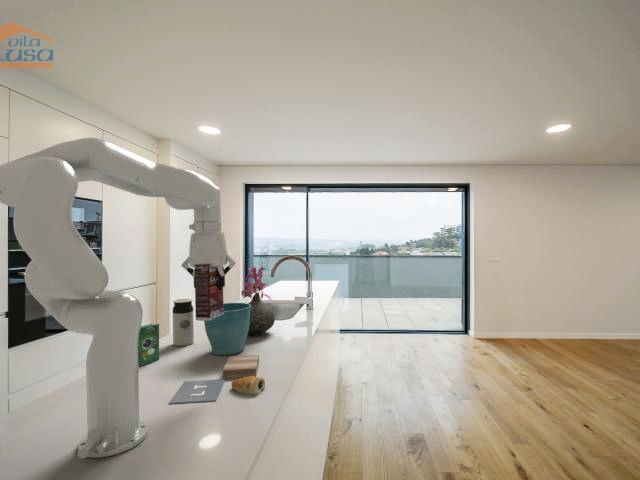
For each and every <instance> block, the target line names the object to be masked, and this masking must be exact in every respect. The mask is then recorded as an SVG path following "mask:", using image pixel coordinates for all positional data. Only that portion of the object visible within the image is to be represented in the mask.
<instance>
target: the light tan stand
mask: <svg viewBox="0 0 640 480" xmlns="http://www.w3.org/2000/svg"><path fill="white" fill-rule="evenodd" d="M228 356H229V355H228ZM259 364H260V355H259V354H250V355H230V356H229V357H228V359H227V361H226V363H225V365H224V367H223V369H222V379H232V378H233V379H237V378H238V379H239V378H244V377H250V376H254V377H257V373H258V369H259Z"/></svg>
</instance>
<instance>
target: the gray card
mask: <svg viewBox="0 0 640 480" xmlns="http://www.w3.org/2000/svg"><path fill="white" fill-rule="evenodd" d="M225 382H226V378H222V379H221V378H220V379H205V380H204V379H203V380H187V381H183V382H182V384H181V386H180V387H179V388H178V390H177V391H176V392H175V394H174V395H173V396H172V398H171V399H170V401H169V402H168V404H169V405H174V404H191V403H192V404H193V403H207V402H208V403H209V402H217V401H218V398H219V397H220V396H219V395H220V393H221V391H222V389H223V387H224V384H225Z"/></svg>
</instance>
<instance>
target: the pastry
mask: <svg viewBox="0 0 640 480" xmlns="http://www.w3.org/2000/svg"><path fill="white" fill-rule="evenodd" d="M230 384H231V388H232V389H233V391H236V392H238V393H239V394H244V395H249V396H257V395H258V394H259V393H261V392H262V390H263V389H265V387H266V381H265V379H264V378H263V377H262V376H261V377H258V376H256V377H254V376H250V377H239V378H238V379H237V378H236V379H235V380H233V381H231V382H230Z"/></svg>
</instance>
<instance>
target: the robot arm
mask: <svg viewBox="0 0 640 480" xmlns="http://www.w3.org/2000/svg"><path fill="white" fill-rule="evenodd" d="M90 181H92V182H98V183H101V184H103V185H106V186H110V187H113V188H115V189H119V190H122V191H123V192H128V193H130V194H134V195H136V196H140V197H141V196H143V197H149V198H164V200H165V202H166V204H167V205H168V206H169V207H170V208H173V209H175V210H178V211H186V210H193V223H192V224H189V225H188V230H193V232H194V233H191V235H190V239H189V250H188V251H189V252H188V257H187V258H186V259H185V260H184V261H183V262H182V263H181V267H182V268H183V269H184V270H185V271H187V273H189V275H191V276H192V278H193V288H194V289H195V265H196V264H212V266H213V267H217V268H218V271H219V273H220V276H219V290H222V289H223V290H224V288H225V287H226V275H227V274H228V273H229V272H230V271H231V269H232V268H234V267H235V266H236V264H237V262H236V261H235V260H234V259H233V258H232V257H231V256H230V255H229V254H228V253H227V251H228V250H227V242H226V236H225V233H224V232H222V213H221V212H222V209H221V208H222V207H221V205H222V204H221V189H220V187H218V186H217V185H215V184H214V183H213V182H212V181H211V180H210V179H209V178H207V177H205V176H203V175H201V174H199V173H196V172H194V171H191V170H188V169H185V168H181V167H176V166H172V165H168V164H164V163H160V162H154V161H152V160H148V159H146V158H144V157H142V156H140V155H137V154H135V153H133V152H130V151H129V150H126V149H124V148H122V147H121V146H118V145H117V144H116V145H115V144H113V143H111V142H108V141H106V140H104V139H101V138H97V137H84V138H83V137H82V138H77V139H72V140H69V141H64V142H61V143H58V144H55V145H52V146H49V147H46V148H44V149H41V150H39V151H36V152H33V153H31V154H27V155H24V156H21V157H19V158H16V159H14V160H11V161H7V162H5V163H3V164H1V165H0V203H1V204H3V205H5V206H7V207H10V208H14V210H13V221H12V222H13V223H12V224H13V232H14V235H15V238H16V240H17V242H18V244H19V245H20V247H21V248H22V249H23V251H24V252H25V254H26V255H27V256H28V257H29V258H30V262H29V263H28V264H27V266H26V268H25V271H24V283H25V286H26V288H27V290H28V292H29V293H30V294H31V295H32V296H33V298H34V299H35V300H36V301H37V302H38V303H39V304H40V305H41V306H42V307H43V308H44V309H45V310H46V311H47V312H48V313H49V314H50V315H51V316H52V317H53V318H54V319H55V320H56V321H57V323H59V324H60V325H61V326H62V327H64V328H65V329H66V330H68V331H70V332H73V333H76V334H81V335H88V336H89V335H90V336H92V339H91V342H90V346H89V349H88V351H87V355H86V359H85V373H86V374H85V375H86V427H87V428H86V430H87V432H86V434H85V435H84V436H83V437H82V438H81V439H80V441H79V442H78V446H77V448H78V451H77V457H78V458H79V459H82V460H83V459H86V458H91V459H93V458H95V459H97V458H106V457H111V456H115V455H118V454H121V453H123V452H124V453H125V452H127V451H128V450H130V449H133V448H134V447H136V446H137V445H139V444H140V443H142V441H143V440H144V439H145V438H146V437H147V435H148V425H147V423H145V422H143V421H141V420H140V389H139V388H140V382H139V381H140V379H139V378H140V377H139V376H140V375H139V366H138V341H139V333H140V327H141V326H142V321H143V317H144V316H143V314H144V313H143V312H144V311H143V306H142V304H141V301H140V300H139V298H137V297H136V296H135V295H133V294H131V293H129V292H126V291H122V290H121V291H120V290H108V289H106V288H107V287H108V284H109V273H108V270H107V268H106V266H105V265H104V264H103V262H102V261H101V259H100V258H99V257H98V256H97V254H96V253H95V252H94V251H93V249H92V248H91V247H90V245H89V244H88V243H87V242H86V240H85V239H84V238H83V237H82V235H81V234H80V232H79V231H78V229H77V227H76V225H75V224H74V221H73V215H72V209H73V204H74V201H75V198H76V195H77V192H78V189H79V183H81V182H90ZM227 264H228V265H227ZM226 265H227V266H226ZM224 266H226V267H225V268H224Z"/></svg>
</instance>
